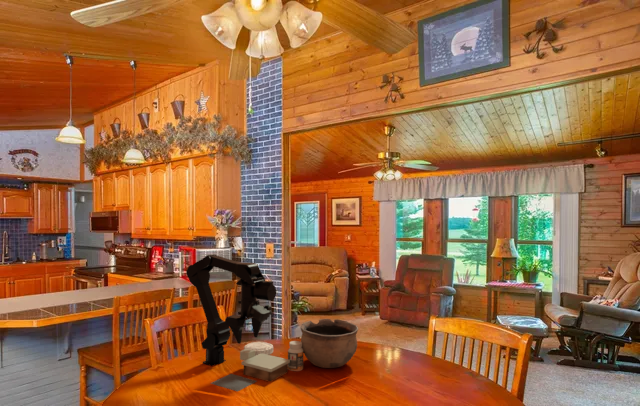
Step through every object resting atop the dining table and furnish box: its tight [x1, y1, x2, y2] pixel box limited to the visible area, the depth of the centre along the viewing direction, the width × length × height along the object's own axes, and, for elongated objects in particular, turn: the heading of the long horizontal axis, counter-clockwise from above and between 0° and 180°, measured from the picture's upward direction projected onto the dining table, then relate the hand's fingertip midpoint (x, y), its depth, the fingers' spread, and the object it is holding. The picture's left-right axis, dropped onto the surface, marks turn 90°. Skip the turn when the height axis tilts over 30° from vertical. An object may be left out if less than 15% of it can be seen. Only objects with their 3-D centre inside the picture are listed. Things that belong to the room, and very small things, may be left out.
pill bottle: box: [287, 340, 304, 372], centre depth 155 cm, size 6×6×10 cm
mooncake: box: [243, 341, 274, 356], centre depth 173 cm, size 12×12×4 cm
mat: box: [210, 373, 258, 392], centre depth 141 cm, size 12×10×1 cm
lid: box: [239, 349, 290, 372], centre depth 151 cm, size 17×11×4 cm, turn 59°
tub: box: [243, 364, 289, 383], centre depth 150 cm, size 12×10×4 cm
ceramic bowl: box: [299, 318, 359, 369], centre depth 161 cm, size 22×22×15 cm
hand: (247, 340), depth 154 cm, fingers open, 9 cm apart
